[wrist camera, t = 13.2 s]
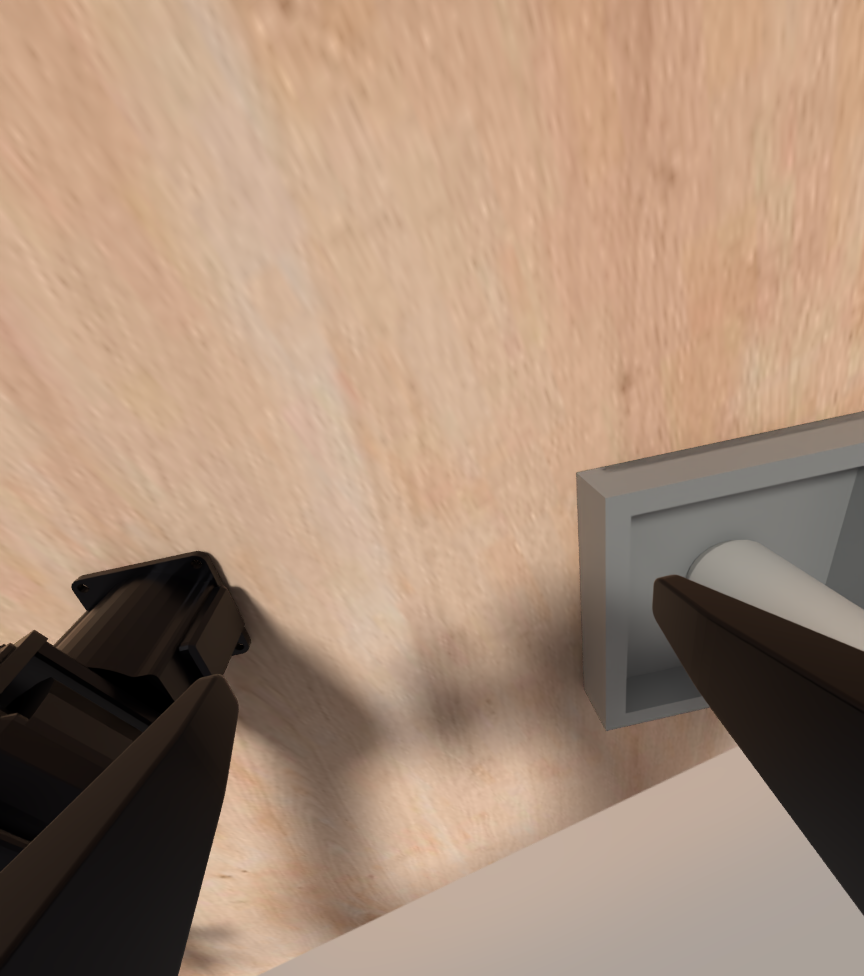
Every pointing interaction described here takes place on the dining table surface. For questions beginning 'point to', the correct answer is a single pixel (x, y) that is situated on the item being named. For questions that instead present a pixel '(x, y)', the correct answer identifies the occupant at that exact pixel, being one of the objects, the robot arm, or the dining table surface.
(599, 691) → the tray
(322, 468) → the dining table surface
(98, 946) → the robot arm
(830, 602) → the beverage can
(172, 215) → the dining table surface
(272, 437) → the dining table surface
